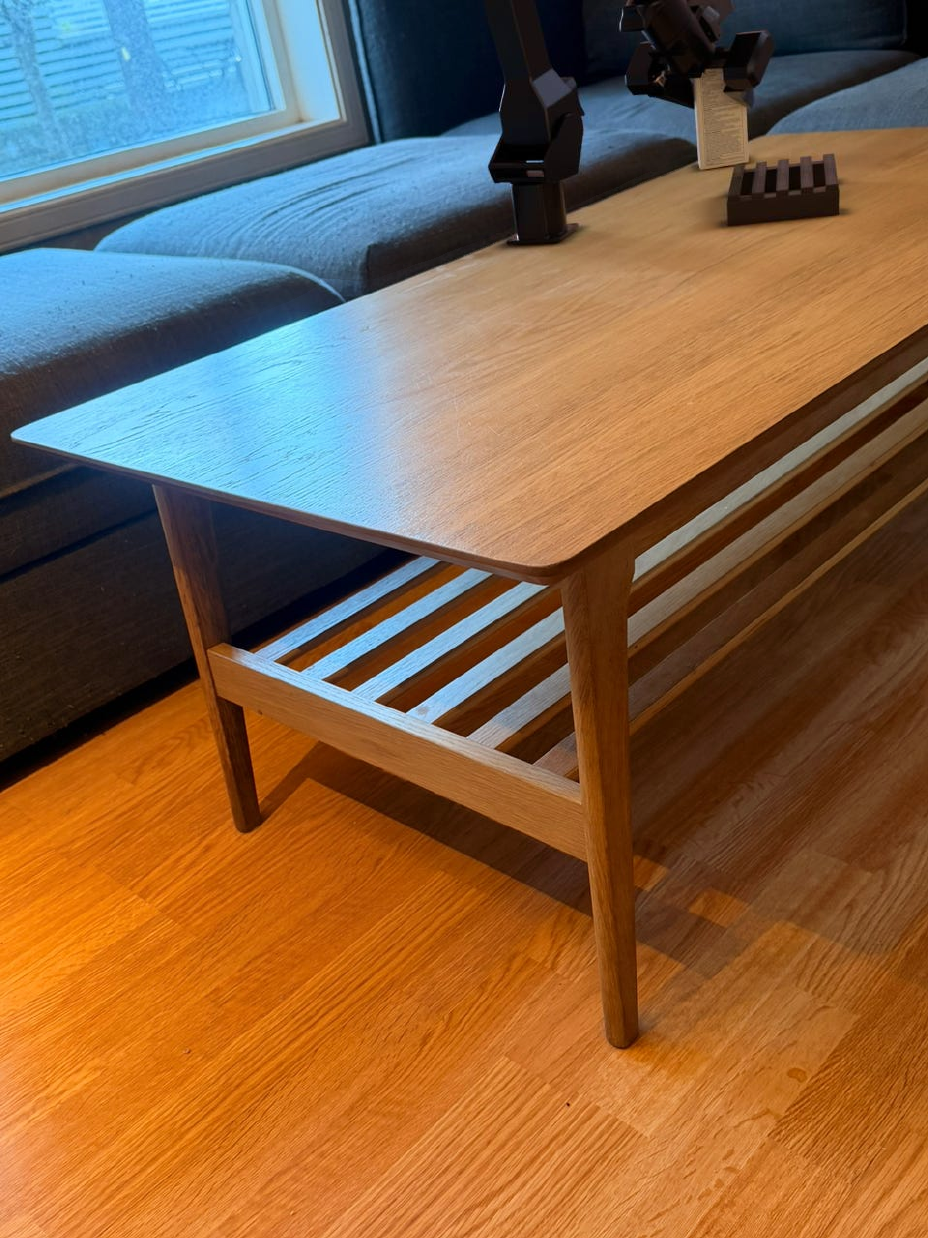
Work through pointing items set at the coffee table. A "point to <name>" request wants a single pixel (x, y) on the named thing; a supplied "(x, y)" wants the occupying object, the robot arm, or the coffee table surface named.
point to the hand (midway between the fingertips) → (726, 106)
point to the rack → (783, 191)
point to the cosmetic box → (718, 123)
